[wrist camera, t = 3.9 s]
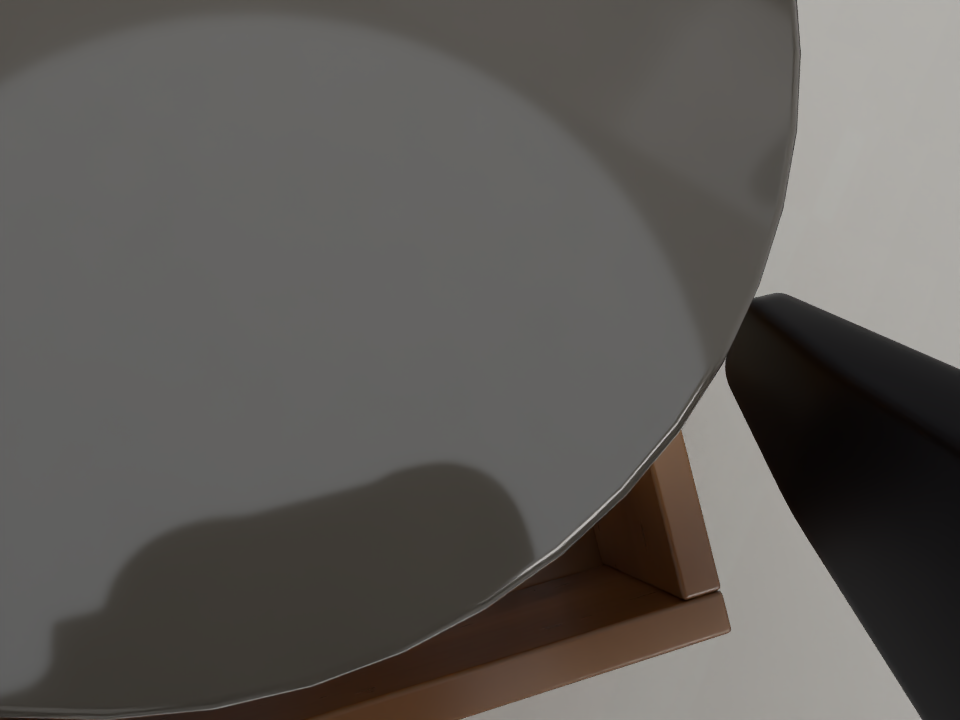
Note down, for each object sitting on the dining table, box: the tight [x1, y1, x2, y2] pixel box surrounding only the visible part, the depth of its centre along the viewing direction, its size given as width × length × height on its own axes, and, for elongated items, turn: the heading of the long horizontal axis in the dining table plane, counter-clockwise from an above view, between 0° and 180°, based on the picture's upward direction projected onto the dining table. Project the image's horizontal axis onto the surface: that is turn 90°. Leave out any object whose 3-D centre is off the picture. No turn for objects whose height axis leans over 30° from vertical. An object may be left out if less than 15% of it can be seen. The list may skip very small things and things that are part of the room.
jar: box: [0, 0, 801, 720], centre depth 10 cm, size 6×6×14 cm
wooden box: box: [0, 430, 731, 720], centre depth 15 cm, size 13×12×4 cm
